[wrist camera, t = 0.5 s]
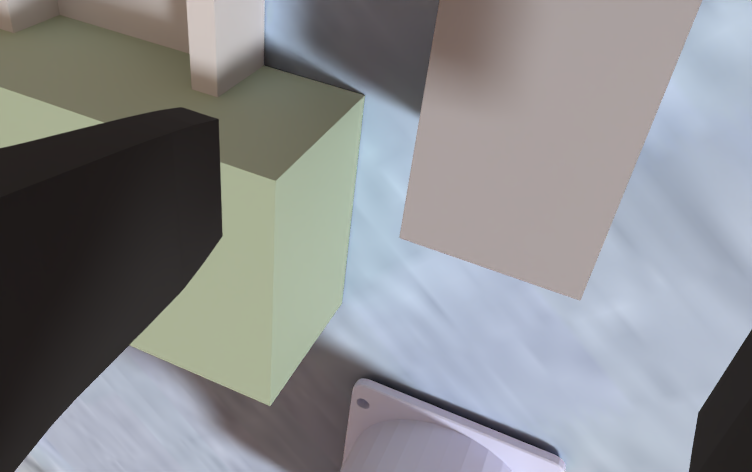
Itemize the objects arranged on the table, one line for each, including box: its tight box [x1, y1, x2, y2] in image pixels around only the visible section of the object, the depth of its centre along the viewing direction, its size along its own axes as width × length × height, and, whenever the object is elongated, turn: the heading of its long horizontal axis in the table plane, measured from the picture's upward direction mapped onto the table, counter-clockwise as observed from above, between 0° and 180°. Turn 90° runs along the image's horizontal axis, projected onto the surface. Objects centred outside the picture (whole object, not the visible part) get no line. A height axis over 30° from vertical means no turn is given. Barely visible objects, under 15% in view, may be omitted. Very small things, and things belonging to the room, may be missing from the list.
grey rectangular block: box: [399, 0, 702, 300], centre depth 14 cm, size 7×4×5 cm, turn 174°
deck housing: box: [0, 0, 365, 406], centre depth 18 cm, size 18×14×5 cm
